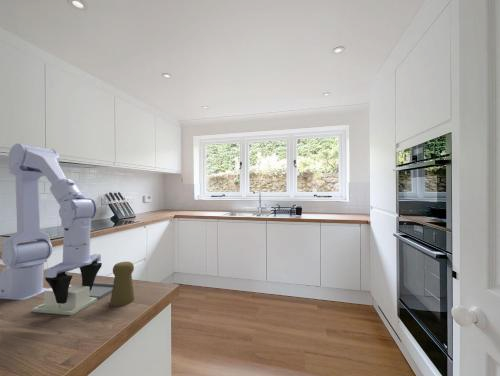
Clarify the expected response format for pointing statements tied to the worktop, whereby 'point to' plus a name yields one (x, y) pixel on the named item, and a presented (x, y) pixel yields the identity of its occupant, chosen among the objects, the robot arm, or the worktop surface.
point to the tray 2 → (100, 290)
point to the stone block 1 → (51, 299)
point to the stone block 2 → (76, 297)
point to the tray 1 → (64, 312)
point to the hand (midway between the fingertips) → (75, 296)
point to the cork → (122, 284)
